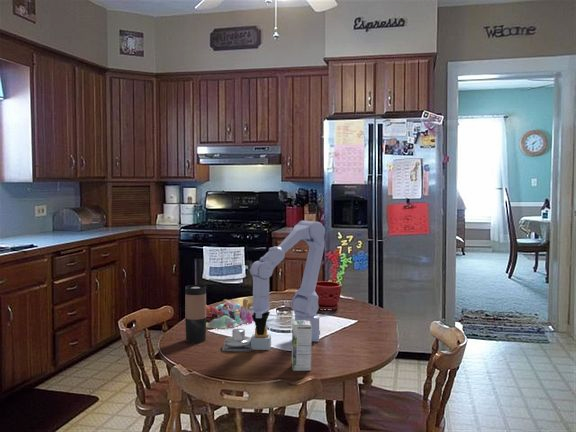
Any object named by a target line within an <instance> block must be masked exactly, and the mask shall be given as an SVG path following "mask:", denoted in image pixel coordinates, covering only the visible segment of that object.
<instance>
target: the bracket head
mask: <svg viewBox="0 0 576 432" xmlns="http://www.w3.org/2000/svg"><path fill="white" fill-rule="evenodd" d="M250 338H251V347H252V350H256V351H257V350H258V351H259V350H264V351H266V350H267V351H270V349H271V347H272V334H268V333H267V338H255V333H252V335H251V336H250Z"/></svg>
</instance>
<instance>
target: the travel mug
mask: <svg viewBox="0 0 576 432" xmlns="http://www.w3.org/2000/svg"><path fill="white" fill-rule="evenodd" d="M184 289H185V291H184V293H185V294H184V295H185V296H184V297H185V298H184V300H185V301H184V303H185V304H184V305H185V306H184V311H185V312H184V313H185V315H184V316H185V317H184V319H185V323H184V324H185V341H186V343H190V344H198V343H200V344H201V343H203V342H205V341H206V340H207V337H206V336H207V328H206V305H207V286H206V285H204V284H190V285H186V286H185V288H184Z"/></svg>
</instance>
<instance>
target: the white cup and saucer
mask: <svg viewBox="0 0 576 432" xmlns="http://www.w3.org/2000/svg"><path fill="white" fill-rule="evenodd" d="M231 333H232V334H231V336H229V337H226V338H225V339H224V343H223V344H224V345H223V347H222V348H221V351H222V352H244V353H245V352H246V353H248V352H252V351H253V349H252V347H251V336H250V337H249V336H246V335H245V334H246V330H245V329H244V328H232V332H231Z"/></svg>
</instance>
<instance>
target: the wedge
mask: <svg viewBox="0 0 576 432" xmlns="http://www.w3.org/2000/svg"><path fill="white" fill-rule="evenodd" d="M254 334H255V338H267V334H268V326H266V327H265V330H264V334H263V335H258V334H257V330H256V327H255V329H254Z"/></svg>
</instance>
